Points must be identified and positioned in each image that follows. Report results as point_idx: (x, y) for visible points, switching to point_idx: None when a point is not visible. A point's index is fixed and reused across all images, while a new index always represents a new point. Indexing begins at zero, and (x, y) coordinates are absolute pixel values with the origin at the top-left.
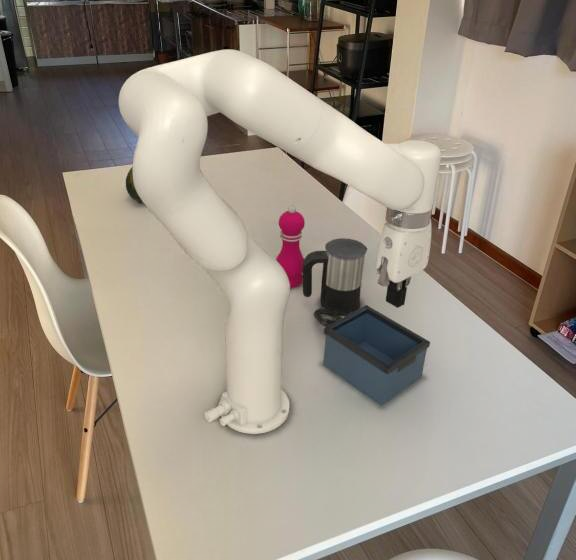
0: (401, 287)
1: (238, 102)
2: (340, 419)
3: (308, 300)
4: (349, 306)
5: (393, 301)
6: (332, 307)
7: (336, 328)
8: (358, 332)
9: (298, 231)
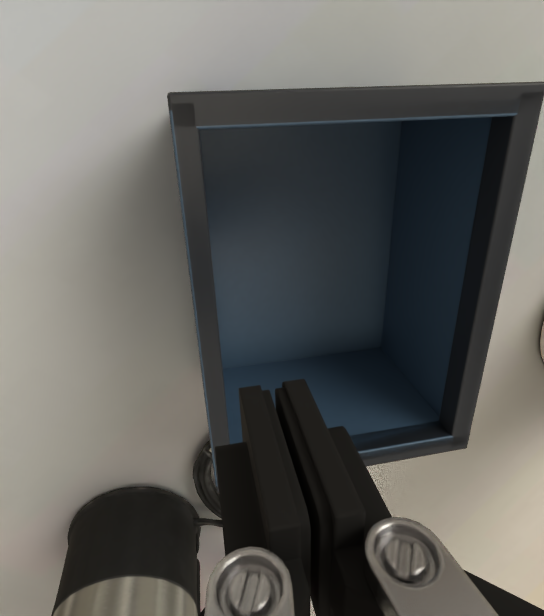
0: (370, 551)
1: None
2: (533, 146)
3: (207, 566)
4: (146, 512)
5: (347, 437)
6: (191, 524)
7: (414, 430)
8: None
9: None
